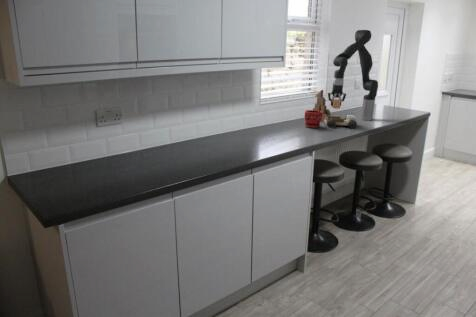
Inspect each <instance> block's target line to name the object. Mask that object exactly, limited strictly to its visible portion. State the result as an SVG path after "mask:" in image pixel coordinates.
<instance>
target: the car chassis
mask: <svg viewBox="0 0 476 317" xmlns="http://www.w3.org/2000/svg"><path fill="white" fill-rule="evenodd" d="M323 123H325V125H326V126H327V127H328V128H334V127H335V126H348V127H349V128H350V129H355V128H356V127H357V125H358V123H357V117H356V116H355V115H353V114H347V115H346V116H345V117H344V118H343V117H342V116H334V115H333V116H331V115H330V116H329V115H327V116H325V117H324V122H323Z"/></svg>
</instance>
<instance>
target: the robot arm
mask: <svg viewBox="0 0 476 317" xmlns="http://www.w3.org/2000/svg"><path fill="white" fill-rule="evenodd" d="M371 39H372V32H371V30H368V29H359V30H356V31H355V34H354V40H355V42H354V43H352V44H350V45H348V46H347V47H346V48H345V49H344V50H343V52H340V53H339V54H338V55H336V56H335V57H334V58H333V61H332V62H333V66H334V67H339V68H338V69H337V70H334V75H333V81H332V88H331V89H332V91H331V92H328V93H327V97H328V101H329V102H330V106H331V108H332V107H333V100H334V99H336V98H337V99H339V100H340V101H341V102H340V107H341V106H342V102H344V101H345V99H346V97H347V93H345V92H343V88H344V79H345V78H344V77H345V72H346V68H347V66H348V60H350V59H351V58H352V57H353V56H354V54H355V53H356V52H358V57H359V64H360V69H361V78H362V80H361V81H362V88H363V90H365V91H367V92H368V94H365V95H363V99H362V107H361V108H362V109H361V116H360V120H361V121H362V120H363V121H370V122H371V121H373V117H374V109H375V101H376V97H377V94H378V89H379V82H378V80H376V79H371V78H370V72H371V69H372V67H373V57H372V55H371V53H370V52H369V51H368V49H367V48H366V46H365V45H366V44H367V43H369V42H370V40H371ZM331 96H332V98H331ZM341 96H342V97H341Z"/></svg>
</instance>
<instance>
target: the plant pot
mask: <svg viewBox="0 0 476 317" xmlns="http://www.w3.org/2000/svg"><path fill="white" fill-rule="evenodd" d="M322 113H323V112H321V111H316V110H313V109H309V110H308V109H306V110H305V111H304V122H305V123H304V126H305V127H307V128H310V129H311V128H312V129H317V128H319V127H320V126H321V124H320V123H321V122H322V120H321V119H322ZM320 116H321V117H320ZM317 117H318V119H317Z"/></svg>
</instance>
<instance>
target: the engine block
mask: <svg viewBox="0 0 476 317" xmlns="http://www.w3.org/2000/svg"><path fill="white" fill-rule="evenodd" d="M340 102H341V101H340V100H339V98H337V99H336V98H334V100H333V107H332V106H331V109H339V110H340V108H341V106H340ZM341 103H342V102H341Z"/></svg>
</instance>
